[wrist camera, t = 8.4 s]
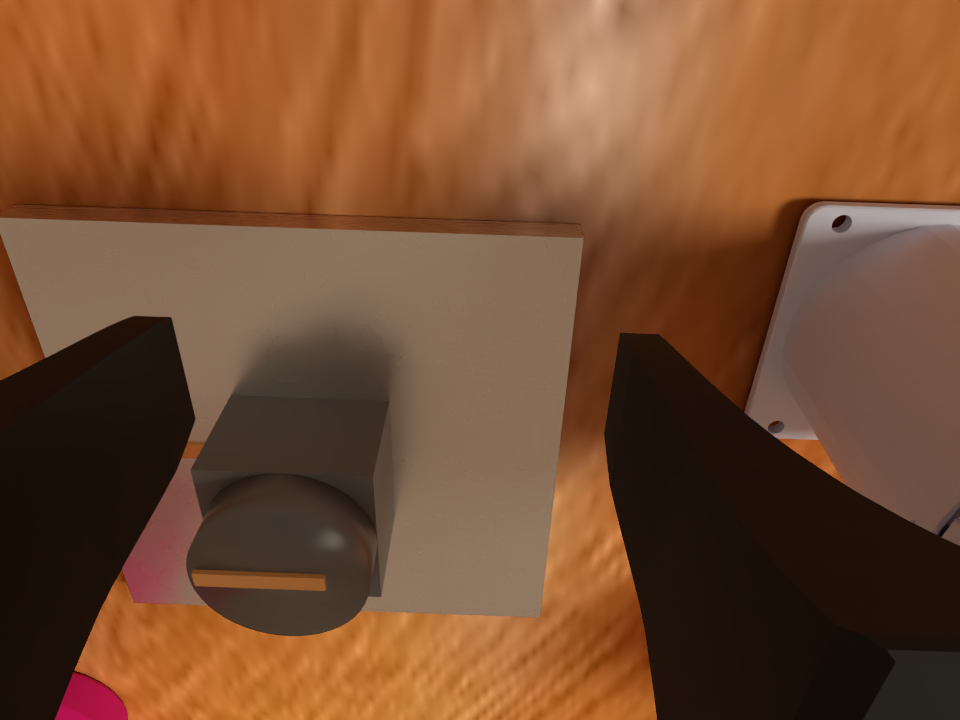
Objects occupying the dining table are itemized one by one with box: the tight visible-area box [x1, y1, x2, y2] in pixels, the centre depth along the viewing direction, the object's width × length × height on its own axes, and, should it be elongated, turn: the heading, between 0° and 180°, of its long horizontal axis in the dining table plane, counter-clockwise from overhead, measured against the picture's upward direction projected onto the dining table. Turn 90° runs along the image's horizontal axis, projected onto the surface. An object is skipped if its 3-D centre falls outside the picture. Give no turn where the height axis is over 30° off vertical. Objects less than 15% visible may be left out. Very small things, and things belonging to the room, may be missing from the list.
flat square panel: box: [0, 204, 584, 617], centre depth 23 cm, size 16×16×4 cm
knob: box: [186, 395, 395, 636], centre depth 21 cm, size 5×5×5 cm
